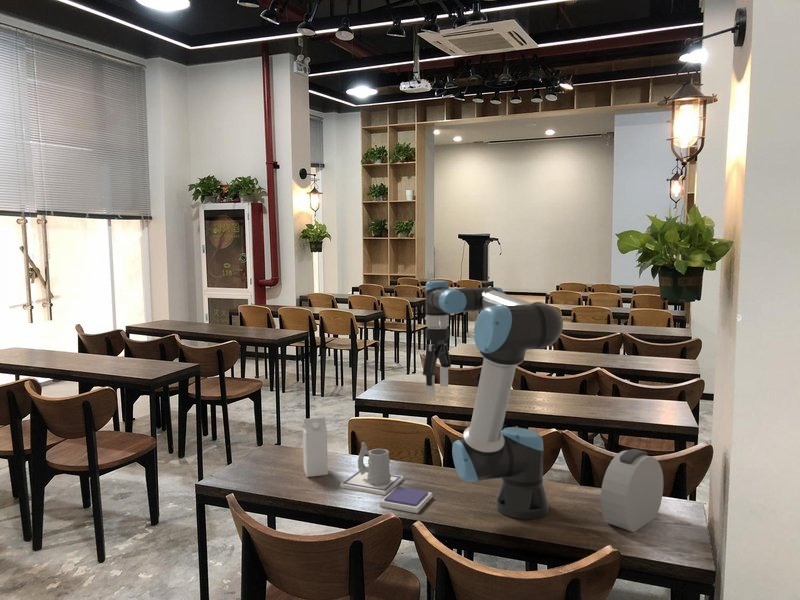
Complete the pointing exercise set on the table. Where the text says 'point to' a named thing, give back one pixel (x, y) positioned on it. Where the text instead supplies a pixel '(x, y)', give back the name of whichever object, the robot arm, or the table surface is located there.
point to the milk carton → (315, 447)
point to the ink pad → (406, 499)
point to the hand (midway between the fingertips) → (437, 390)
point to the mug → (375, 465)
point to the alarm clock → (631, 490)
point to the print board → (362, 483)
